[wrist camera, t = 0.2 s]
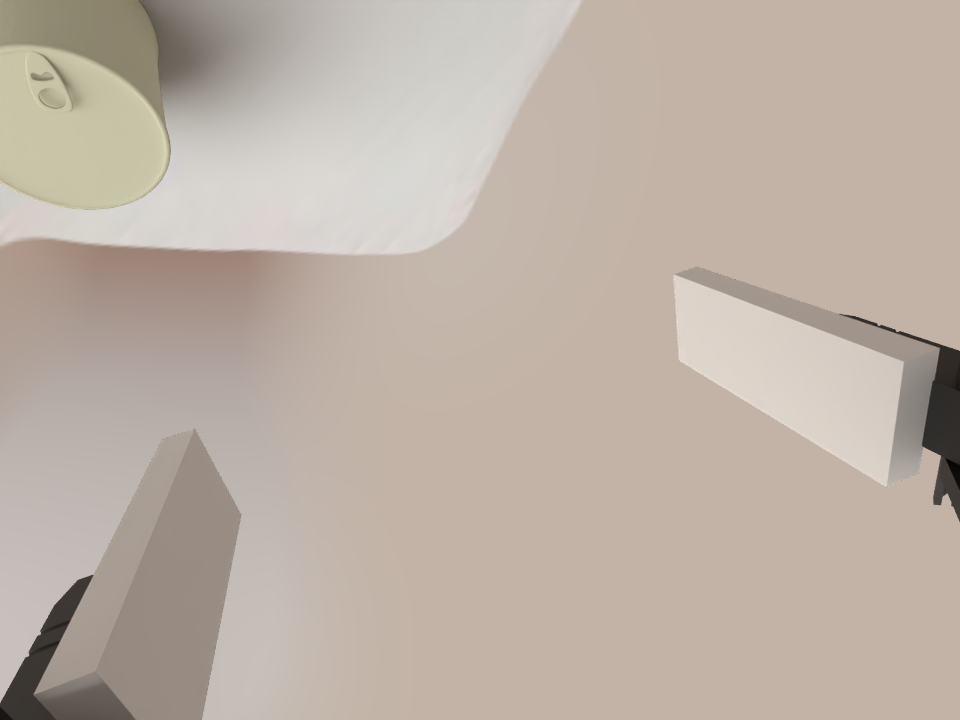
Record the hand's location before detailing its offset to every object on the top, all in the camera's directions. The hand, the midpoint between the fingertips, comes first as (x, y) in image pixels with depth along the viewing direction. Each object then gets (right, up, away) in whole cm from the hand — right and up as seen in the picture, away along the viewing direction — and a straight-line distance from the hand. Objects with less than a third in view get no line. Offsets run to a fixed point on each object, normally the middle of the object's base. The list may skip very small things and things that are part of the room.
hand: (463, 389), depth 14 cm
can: (-25, +21, +19) cm, 38 cm away
